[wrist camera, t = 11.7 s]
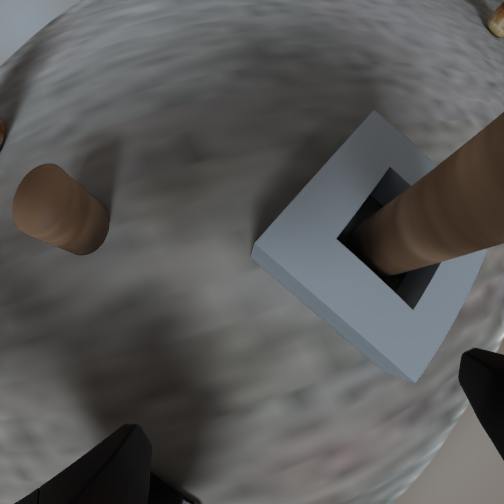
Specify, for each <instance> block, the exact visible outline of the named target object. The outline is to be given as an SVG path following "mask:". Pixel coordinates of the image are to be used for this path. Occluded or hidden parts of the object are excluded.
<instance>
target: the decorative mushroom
mask: <svg viewBox="0 0 504 504" xmlns="http://www.w3.org/2000/svg"><path fill="white" fill-rule="evenodd" d="M487 25H488V28H489V30H490V31H491V32H492V33H493V35H495V36H497V37H501V38H503V37H504V2H503V3H502V4H501V5H500V6H499V7H498V8H497V9H496V10H495V11H494V12H493V14H492V15H491V16H490V17H489V19H488V21H487Z"/></svg>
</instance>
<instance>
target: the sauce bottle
mask: <svg viewBox="0 0 504 504" xmlns="http://www.w3.org/2000/svg"><path fill="white" fill-rule="evenodd" d="M4 135H5V125H4V123H3V122H2V121H1V119H0V148H1V145H2V142H3V139H4Z"/></svg>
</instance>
